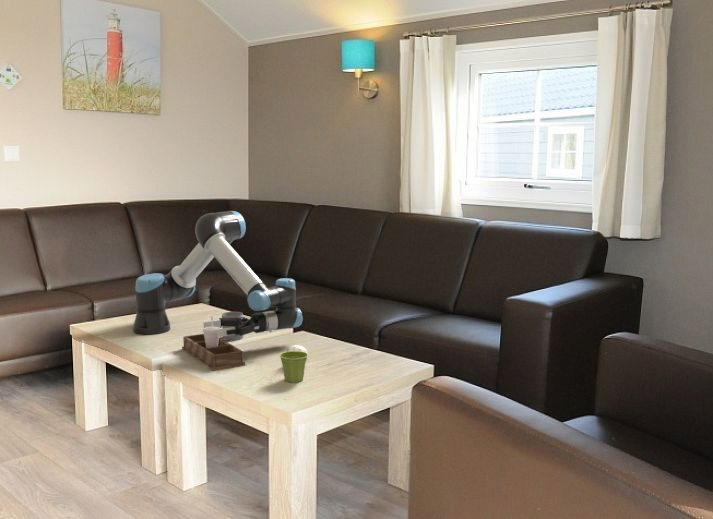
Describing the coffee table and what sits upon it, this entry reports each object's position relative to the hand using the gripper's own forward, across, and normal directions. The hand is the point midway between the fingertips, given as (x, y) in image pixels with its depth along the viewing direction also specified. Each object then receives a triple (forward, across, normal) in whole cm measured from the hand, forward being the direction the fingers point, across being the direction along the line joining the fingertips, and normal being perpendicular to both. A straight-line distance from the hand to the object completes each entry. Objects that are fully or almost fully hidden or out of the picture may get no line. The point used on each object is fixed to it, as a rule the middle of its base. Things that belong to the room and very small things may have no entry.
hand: (210, 329), depth 267 cm
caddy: (-1, 0, -11) cm, 11 cm away
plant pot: (-14, -40, -11) cm, 43 cm away
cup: (-18, +21, -11) cm, 30 cm away
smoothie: (-1, 0, -10) cm, 10 cm away
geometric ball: (-22, -26, -11) cm, 36 cm away
